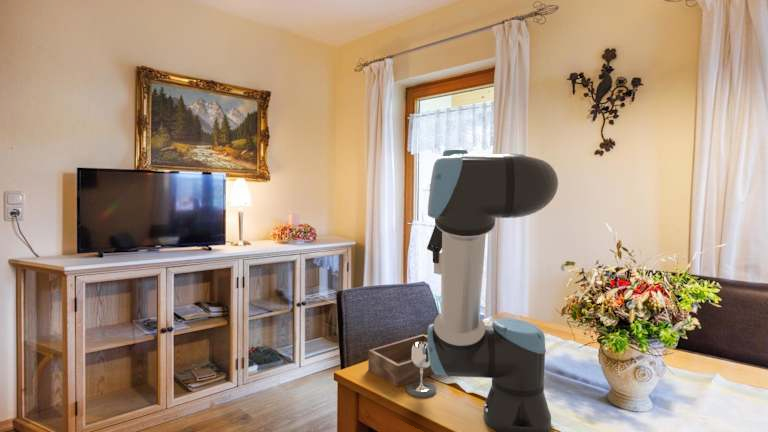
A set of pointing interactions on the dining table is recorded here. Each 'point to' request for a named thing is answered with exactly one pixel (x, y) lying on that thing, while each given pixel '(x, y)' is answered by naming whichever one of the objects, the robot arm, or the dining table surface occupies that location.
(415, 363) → the wineglass
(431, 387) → the coaster
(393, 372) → the rectangular wooden frame
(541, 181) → the robot arm
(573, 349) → the dining table surface
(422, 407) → the dining table surface
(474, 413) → the dining table surface
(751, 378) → the dining table surface
